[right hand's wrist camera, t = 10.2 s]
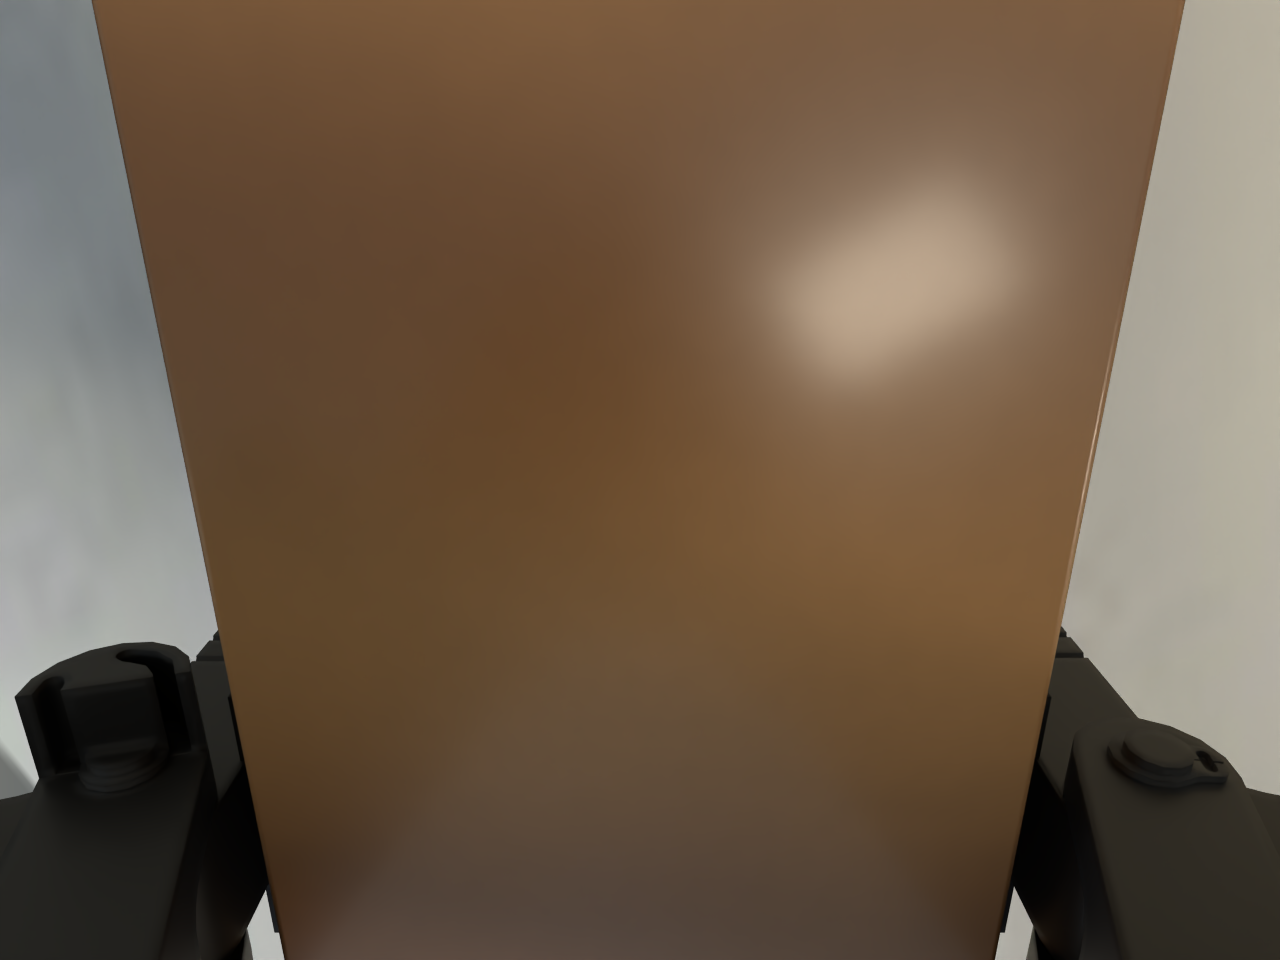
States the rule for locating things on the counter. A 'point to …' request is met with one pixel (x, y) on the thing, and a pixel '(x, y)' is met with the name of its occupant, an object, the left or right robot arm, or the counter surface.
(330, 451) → the post
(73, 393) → the counter surface
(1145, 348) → the counter surface
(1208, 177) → the counter surface
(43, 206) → the counter surface
